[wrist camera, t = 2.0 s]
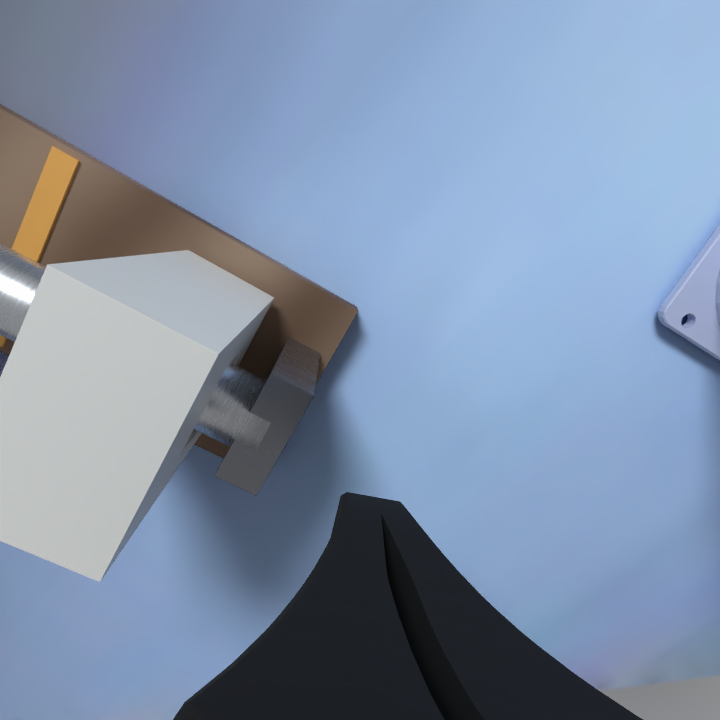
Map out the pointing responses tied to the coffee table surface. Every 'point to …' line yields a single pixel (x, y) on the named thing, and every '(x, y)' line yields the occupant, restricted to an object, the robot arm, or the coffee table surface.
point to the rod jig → (158, 235)
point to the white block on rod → (111, 396)
